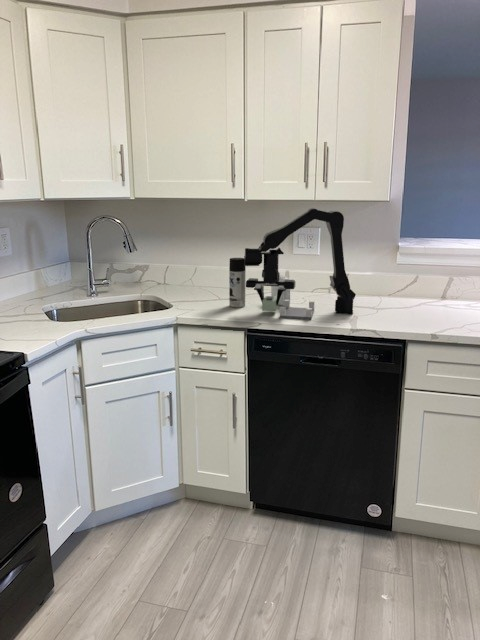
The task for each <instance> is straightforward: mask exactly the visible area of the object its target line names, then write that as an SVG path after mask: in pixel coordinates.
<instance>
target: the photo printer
mask: <svg viewBox="0 0 480 640" xmlns="http://www.w3.org/2000/svg"><path fill="white" fill-rule="evenodd" d="M285 280H290V279H289V278H288V277H287V276H285V275H282V274H280V276H279V281H278V282H284V281H285ZM270 289H271V290H270V293H271V295H270V296H277V292H278V289H279V286H270ZM284 300H290V301H291V289H286V291H283V293H282V295H281V297H280V300H279V303H278V306H281V307H284Z"/></svg>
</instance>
